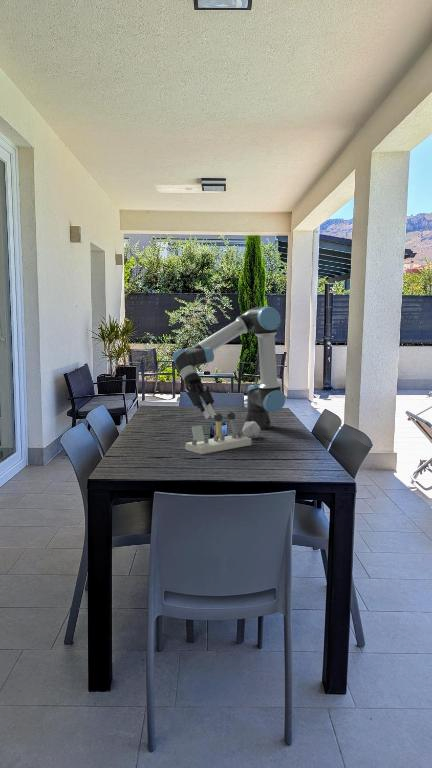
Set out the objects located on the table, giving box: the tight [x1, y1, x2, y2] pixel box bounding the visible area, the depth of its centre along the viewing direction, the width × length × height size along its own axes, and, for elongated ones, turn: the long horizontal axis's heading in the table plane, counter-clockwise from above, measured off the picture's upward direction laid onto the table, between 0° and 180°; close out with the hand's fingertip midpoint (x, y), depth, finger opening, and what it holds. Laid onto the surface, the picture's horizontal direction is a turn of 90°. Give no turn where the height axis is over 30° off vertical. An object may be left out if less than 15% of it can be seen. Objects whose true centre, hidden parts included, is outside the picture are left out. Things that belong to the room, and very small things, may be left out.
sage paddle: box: [190, 425, 205, 442], centre depth 244 cm, size 1×5×7 cm, turn 131°
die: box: [241, 422, 262, 439], centre depth 273 cm, size 8×9×10 cm
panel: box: [184, 431, 252, 455], centre depth 250 cm, size 11×30×5 cm, turn 130°
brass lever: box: [213, 412, 224, 439], centre depth 250 cm, size 4×4×12 cm
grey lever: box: [226, 411, 239, 436], centre depth 259 cm, size 4×4×12 cm
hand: (211, 416), depth 251 cm, fingers open, 3 cm apart
